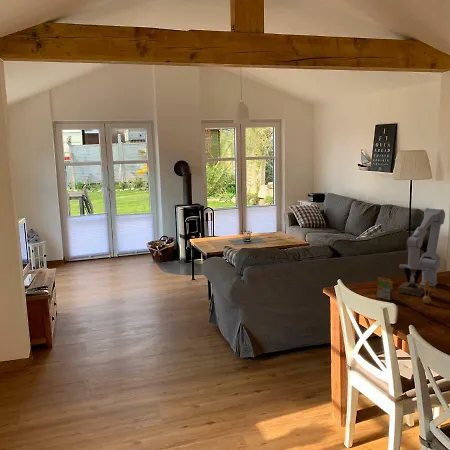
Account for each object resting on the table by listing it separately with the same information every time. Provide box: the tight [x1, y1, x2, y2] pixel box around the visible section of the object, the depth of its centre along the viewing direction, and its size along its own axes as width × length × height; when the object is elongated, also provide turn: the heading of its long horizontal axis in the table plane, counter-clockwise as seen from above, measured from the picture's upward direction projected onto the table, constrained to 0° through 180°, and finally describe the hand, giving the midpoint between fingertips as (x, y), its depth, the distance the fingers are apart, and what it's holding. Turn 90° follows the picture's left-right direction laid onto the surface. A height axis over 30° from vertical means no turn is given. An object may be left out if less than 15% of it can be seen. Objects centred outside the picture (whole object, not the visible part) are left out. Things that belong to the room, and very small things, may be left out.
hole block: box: [397, 281, 426, 297], centre depth 261 cm, size 12×12×3 cm
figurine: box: [418, 280, 437, 304], centre depth 243 cm, size 8×6×12 cm
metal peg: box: [408, 272, 417, 287], centre depth 260 cm, size 3×3×7 cm
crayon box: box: [376, 276, 394, 301], centre depth 251 cm, size 7×3×12 cm, turn 48°
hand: (412, 282), depth 260 cm, fingers closed on metal peg, 3 cm apart
